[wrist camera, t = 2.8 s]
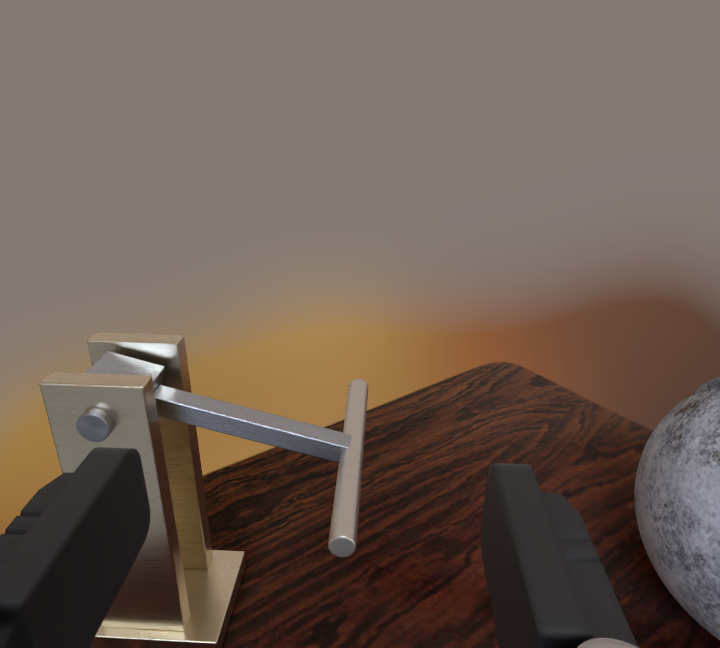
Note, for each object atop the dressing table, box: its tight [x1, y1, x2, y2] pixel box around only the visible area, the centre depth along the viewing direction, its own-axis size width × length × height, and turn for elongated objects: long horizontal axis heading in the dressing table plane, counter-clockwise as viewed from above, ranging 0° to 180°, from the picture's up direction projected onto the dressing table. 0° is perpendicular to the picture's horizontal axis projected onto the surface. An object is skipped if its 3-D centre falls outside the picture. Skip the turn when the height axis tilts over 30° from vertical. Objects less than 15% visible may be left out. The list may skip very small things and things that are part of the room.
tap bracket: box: [40, 332, 246, 648], centre depth 28 cm, size 8×6×16 cm
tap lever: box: [86, 351, 368, 557], centre depth 26 cm, size 13×12×2 cm
